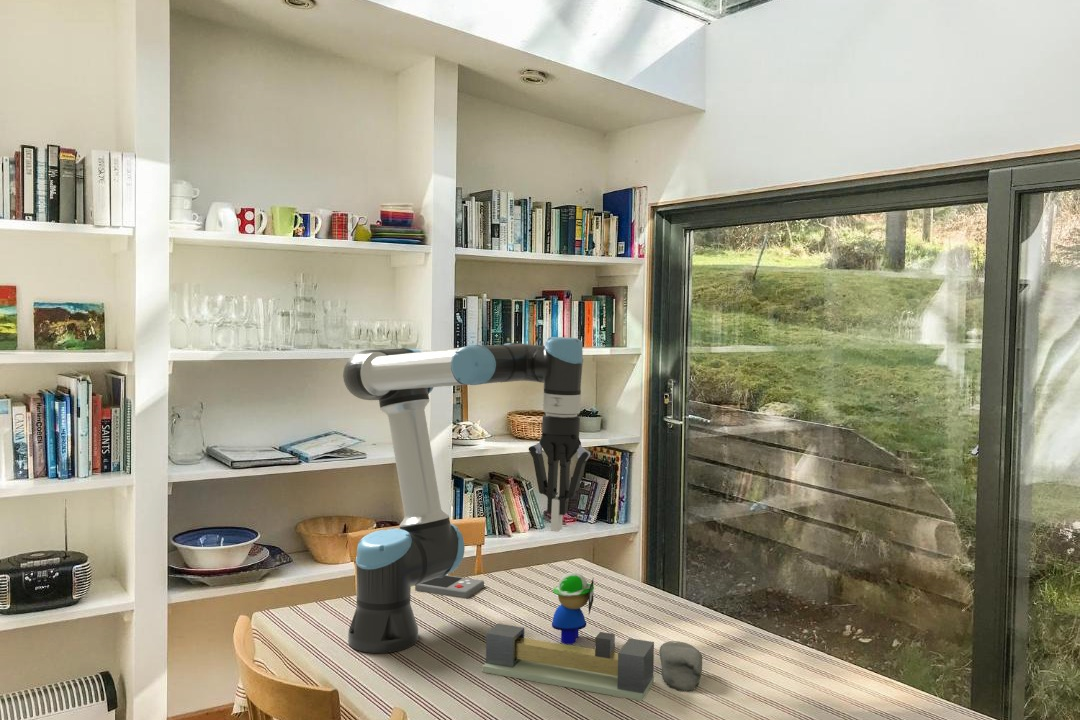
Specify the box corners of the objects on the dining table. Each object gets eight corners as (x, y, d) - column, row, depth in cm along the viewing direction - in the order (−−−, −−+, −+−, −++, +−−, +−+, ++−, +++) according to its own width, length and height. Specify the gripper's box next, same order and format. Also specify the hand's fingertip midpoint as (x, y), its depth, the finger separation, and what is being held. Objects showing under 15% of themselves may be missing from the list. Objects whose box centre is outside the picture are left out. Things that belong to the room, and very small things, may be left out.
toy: (590, 648, 184) (591, 580, 183) (548, 644, 186) (549, 577, 185) (595, 633, 193) (596, 568, 192) (555, 630, 195) (556, 565, 194)
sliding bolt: (502, 656, 173) (503, 623, 172) (509, 650, 176) (509, 617, 175) (637, 679, 163) (638, 644, 162) (641, 673, 166) (642, 638, 165)
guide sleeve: (485, 663, 173) (486, 633, 172) (497, 652, 178) (497, 623, 178) (512, 667, 171) (513, 637, 170) (524, 657, 176) (524, 627, 176)
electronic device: (466, 591, 215) (414, 583, 221) (466, 600, 215) (414, 592, 221) (484, 579, 225) (434, 572, 231) (484, 588, 225) (434, 581, 231)
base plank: (482, 671, 171) (482, 666, 171) (500, 655, 180) (500, 649, 180) (642, 700, 159) (642, 694, 159) (653, 681, 168) (653, 675, 168)
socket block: (617, 689, 162) (618, 652, 161) (628, 672, 169) (629, 638, 169) (643, 693, 160) (643, 657, 159) (653, 676, 167) (654, 641, 167)
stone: (652, 687, 165) (657, 634, 169) (658, 691, 173) (662, 640, 177) (699, 694, 163) (703, 640, 167) (703, 698, 170) (706, 646, 174)
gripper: (524, 413, 170) (519, 529, 172) (586, 419, 165) (580, 538, 167) (538, 409, 177) (533, 521, 179) (598, 415, 172) (592, 529, 174)
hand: (556, 529), depth 173 cm, fingers closed
